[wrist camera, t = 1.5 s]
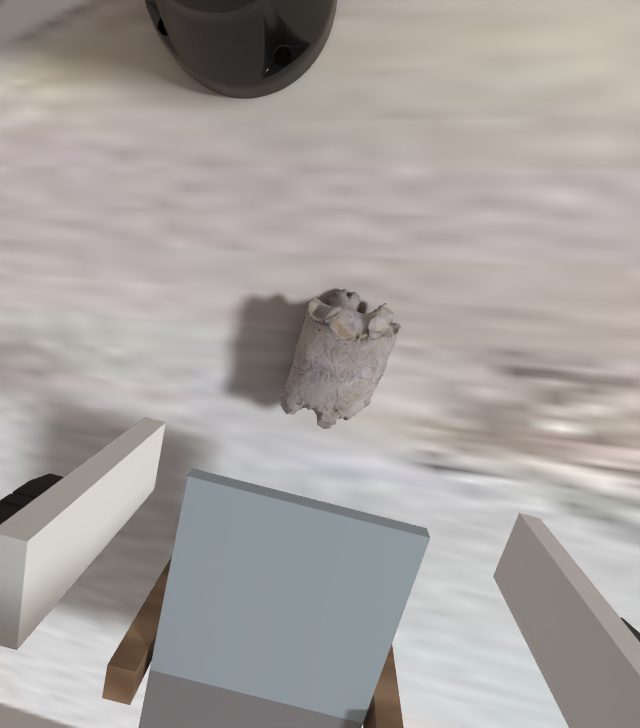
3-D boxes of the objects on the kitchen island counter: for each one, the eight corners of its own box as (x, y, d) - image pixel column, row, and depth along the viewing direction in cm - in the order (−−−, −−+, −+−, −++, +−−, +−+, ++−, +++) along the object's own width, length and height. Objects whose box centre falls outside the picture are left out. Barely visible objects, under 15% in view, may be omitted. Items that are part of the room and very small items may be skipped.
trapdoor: (207, 449, 30) (187, 476, 26) (418, 503, 30) (429, 537, 26) (156, 697, 35) (134, 749, 32) (335, 741, 36) (335, 799, 32)
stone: (281, 396, 41) (271, 421, 34) (317, 280, 38) (314, 283, 32) (357, 420, 41) (362, 450, 35) (398, 307, 39) (412, 314, 32)
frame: (191, 509, 44) (102, 651, 28) (388, 559, 44) (416, 730, 28) (183, 547, 45) (93, 707, 29) (375, 596, 46) (395, 782, 29)
